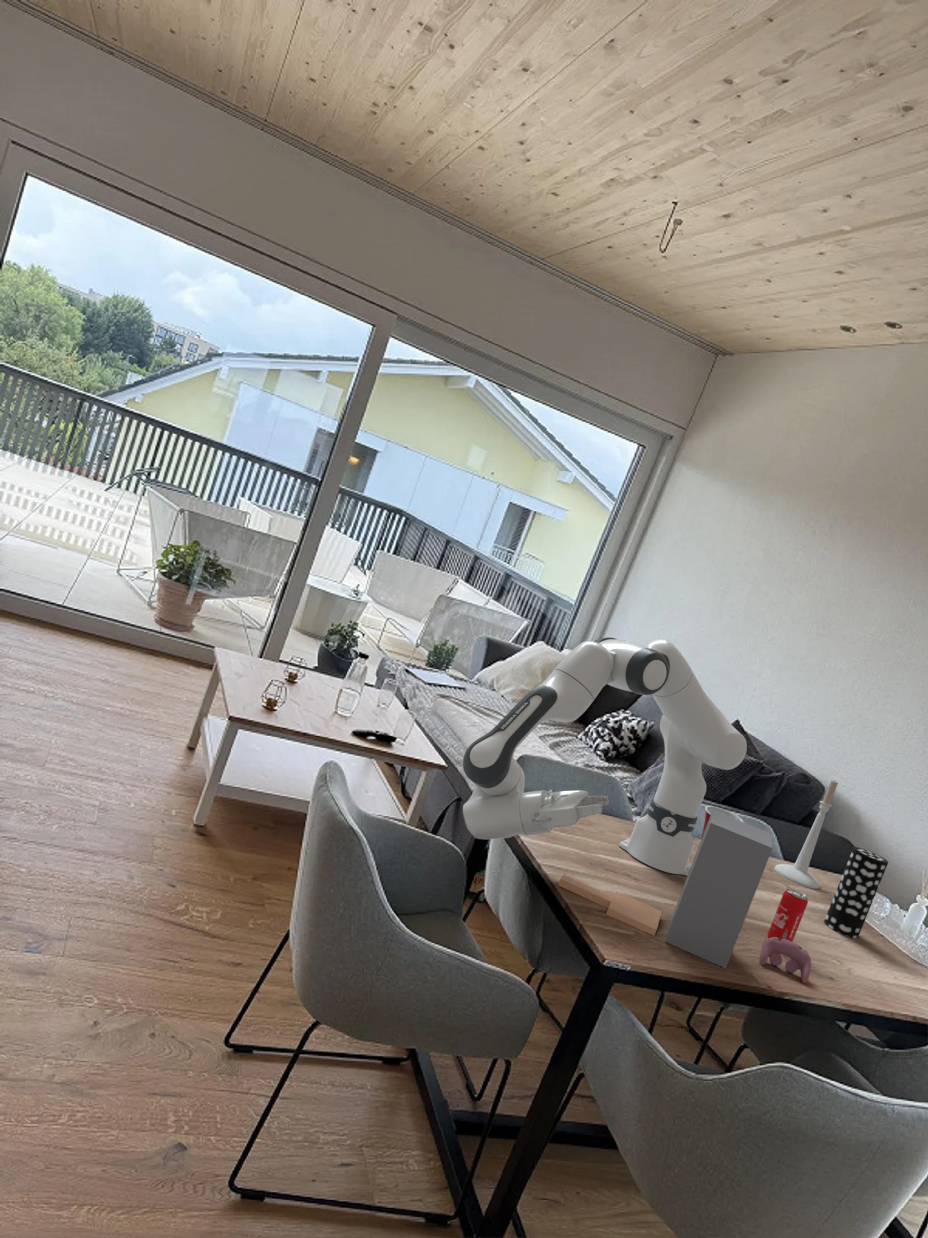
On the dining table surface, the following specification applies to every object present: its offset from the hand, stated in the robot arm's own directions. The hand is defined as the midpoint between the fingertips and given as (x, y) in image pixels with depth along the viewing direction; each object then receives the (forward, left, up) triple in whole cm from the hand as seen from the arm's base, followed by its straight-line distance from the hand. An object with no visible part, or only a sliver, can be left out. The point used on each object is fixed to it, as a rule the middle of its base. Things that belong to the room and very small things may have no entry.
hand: (604, 804), depth 194 cm
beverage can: (-23, +43, -19) cm, 52 cm away
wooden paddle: (0, +8, -19) cm, 20 cm away
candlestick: (-92, +51, -19) cm, 107 cm away
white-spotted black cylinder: (-57, +60, -19) cm, 85 cm away
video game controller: (-7, +44, -19) cm, 48 cm away
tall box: (0, +26, -19) cm, 32 cm away
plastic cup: (-78, +26, -19) cm, 84 cm away
